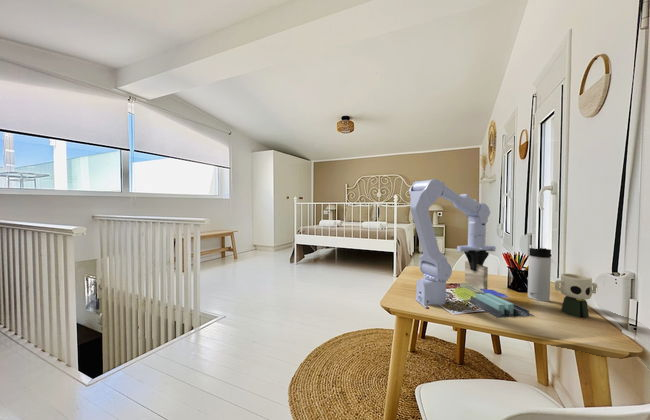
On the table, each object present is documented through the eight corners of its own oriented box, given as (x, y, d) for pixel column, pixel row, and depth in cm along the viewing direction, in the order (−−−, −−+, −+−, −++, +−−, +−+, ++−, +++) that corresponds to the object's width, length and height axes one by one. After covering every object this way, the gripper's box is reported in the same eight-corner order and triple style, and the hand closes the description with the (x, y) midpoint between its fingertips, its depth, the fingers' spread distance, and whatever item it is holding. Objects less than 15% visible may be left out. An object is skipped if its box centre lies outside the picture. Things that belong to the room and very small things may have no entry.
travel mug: (531, 302, 93) (533, 248, 92) (525, 296, 99) (526, 245, 98) (553, 305, 90) (555, 249, 90) (545, 299, 97) (546, 246, 96)
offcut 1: (498, 314, 80) (498, 305, 80) (475, 302, 90) (476, 293, 90) (504, 314, 81) (504, 304, 80) (481, 301, 90) (481, 293, 90)
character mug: (561, 319, 80) (562, 277, 79) (547, 310, 86) (549, 272, 86) (604, 323, 77) (606, 280, 76) (587, 314, 84) (588, 274, 83)
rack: (496, 320, 78) (497, 312, 78) (465, 303, 92) (466, 296, 92) (534, 318, 80) (534, 310, 80) (498, 301, 94) (498, 294, 94)
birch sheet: (483, 289, 93) (483, 267, 92) (464, 281, 103) (465, 261, 102) (487, 289, 93) (487, 267, 93) (468, 281, 103) (468, 261, 103)
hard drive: (510, 297, 95) (498, 287, 107) (485, 295, 97) (476, 285, 109) (510, 301, 95) (498, 291, 107) (485, 299, 97) (476, 289, 109)
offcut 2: (507, 313, 81) (508, 304, 81) (484, 301, 91) (484, 293, 91) (513, 313, 81) (513, 304, 81) (489, 301, 91) (489, 293, 91)
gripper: (466, 236, 92) (465, 273, 93) (502, 235, 94) (501, 272, 95) (454, 233, 99) (453, 268, 100) (487, 233, 101) (486, 267, 102)
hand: (475, 270), depth 98 cm, fingers closed on birch sheet, 2 cm apart
